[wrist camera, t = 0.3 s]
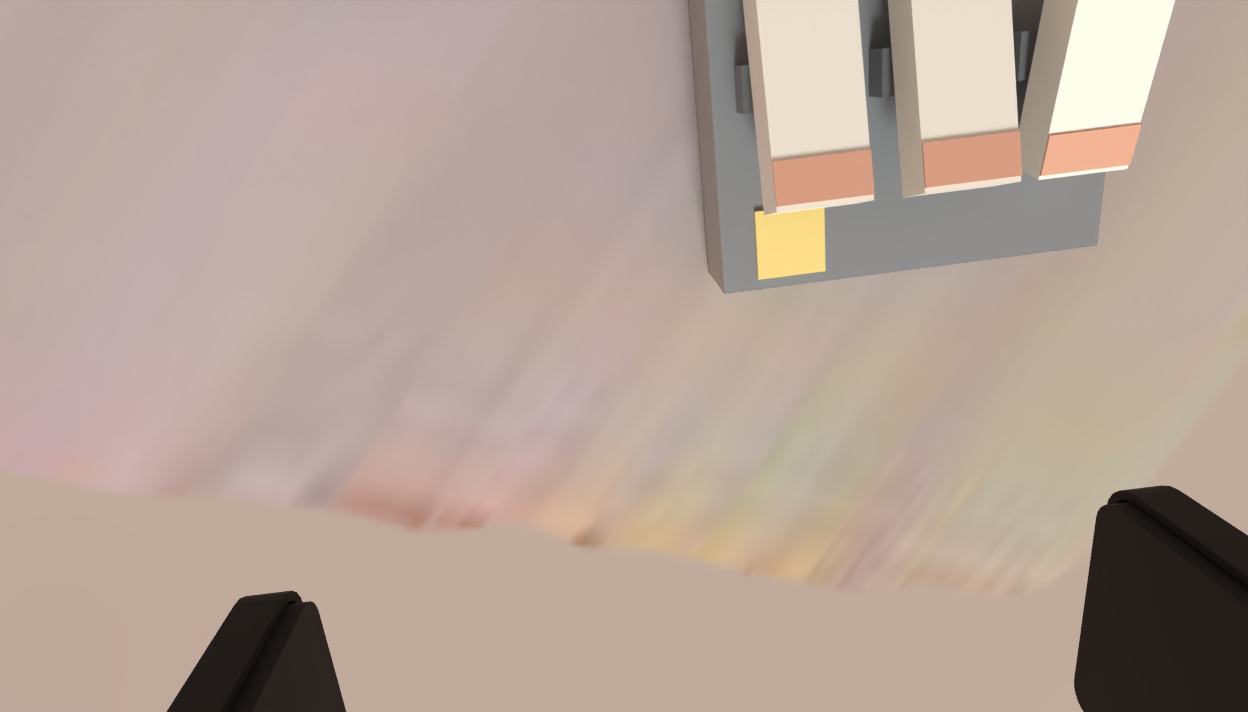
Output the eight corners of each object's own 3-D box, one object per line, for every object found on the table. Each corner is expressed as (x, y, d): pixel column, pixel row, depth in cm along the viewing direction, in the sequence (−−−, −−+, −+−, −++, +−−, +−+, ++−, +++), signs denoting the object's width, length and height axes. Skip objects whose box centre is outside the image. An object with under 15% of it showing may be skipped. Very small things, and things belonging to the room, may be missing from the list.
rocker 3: (1061, -86, 27) (1097, -81, 25) (1160, -97, 27) (1203, -94, 25) (1012, 162, 32) (1040, 181, 30) (1096, 152, 32) (1128, 169, 30)
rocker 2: (884, -45, 29) (907, -69, 27) (978, -56, 29) (1008, -80, 27) (902, 197, 30) (926, 193, 28) (992, 186, 30) (1022, 181, 28)
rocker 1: (739, -28, 29) (751, -51, 26) (834, -39, 29) (854, -63, 27) (764, 215, 30) (777, 212, 28) (854, 203, 30) (875, 200, 28)
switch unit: (678, -127, 32) (700, -164, 27) (1078, -172, 32) (1174, -216, 27) (708, 271, 38) (730, 302, 33) (1044, 228, 38) (1118, 252, 33)
